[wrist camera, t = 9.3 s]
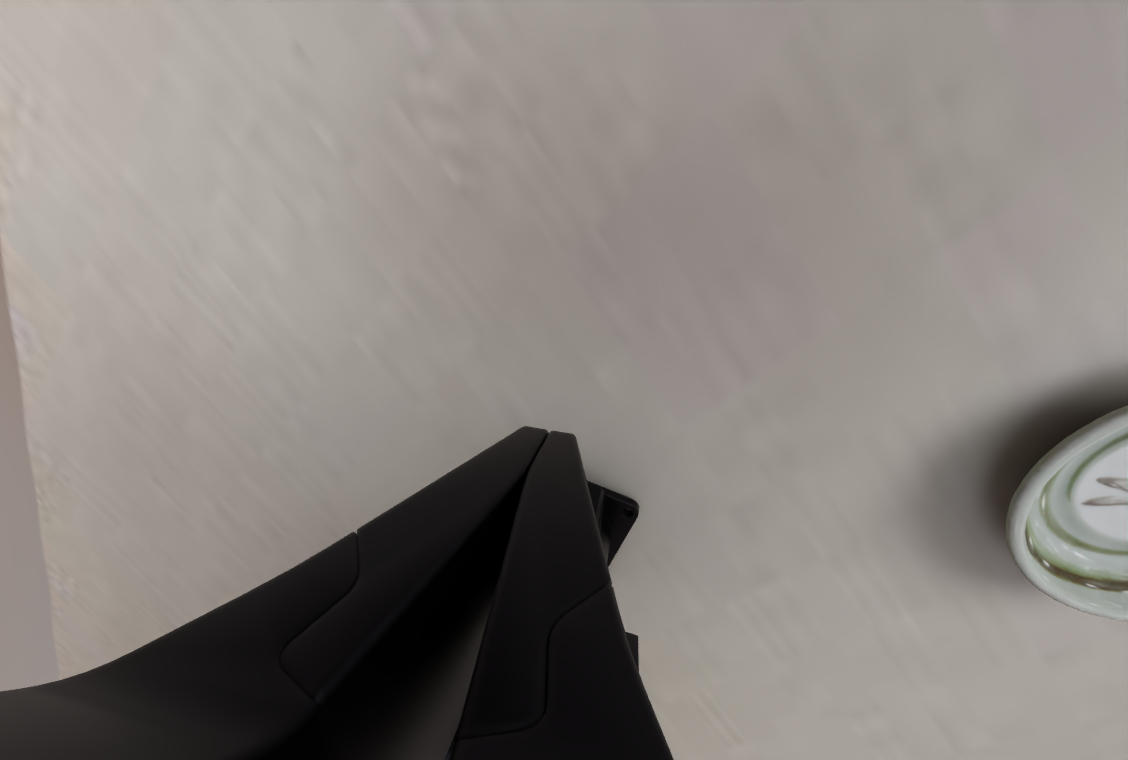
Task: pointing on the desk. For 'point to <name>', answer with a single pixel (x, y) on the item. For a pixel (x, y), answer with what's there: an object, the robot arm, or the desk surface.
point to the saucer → (1077, 519)
